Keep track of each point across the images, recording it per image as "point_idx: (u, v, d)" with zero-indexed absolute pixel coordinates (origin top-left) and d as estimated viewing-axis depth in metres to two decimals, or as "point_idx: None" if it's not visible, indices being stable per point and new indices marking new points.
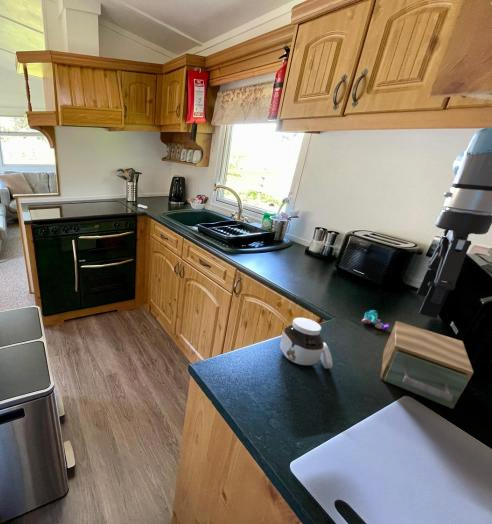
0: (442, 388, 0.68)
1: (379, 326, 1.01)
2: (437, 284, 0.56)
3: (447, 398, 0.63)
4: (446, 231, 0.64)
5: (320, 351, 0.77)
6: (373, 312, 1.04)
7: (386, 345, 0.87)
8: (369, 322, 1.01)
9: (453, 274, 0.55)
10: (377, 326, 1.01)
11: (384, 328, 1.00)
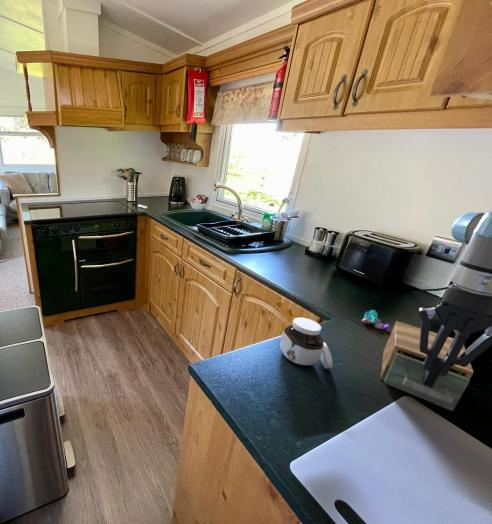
0: (442, 391, 0.67)
1: (379, 326, 1.01)
2: (464, 366, 0.60)
3: (448, 401, 0.62)
4: (425, 311, 0.62)
5: (320, 351, 0.77)
6: (373, 312, 1.04)
7: (386, 345, 0.87)
8: (369, 322, 1.01)
9: None
10: (377, 326, 1.01)
11: (384, 328, 1.00)
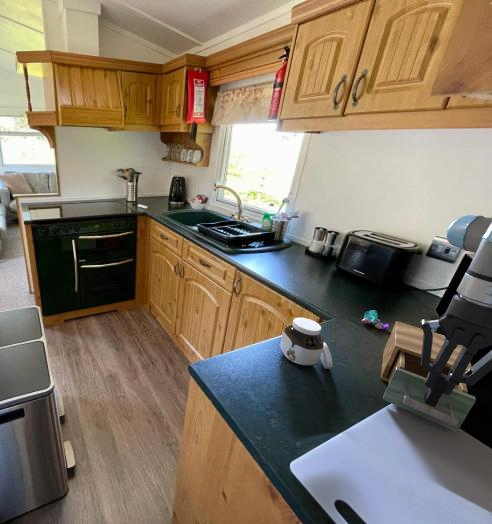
0: (446, 410, 0.61)
1: (379, 326, 1.01)
2: (470, 385, 0.55)
3: (452, 423, 0.56)
4: (428, 324, 0.57)
5: (320, 351, 0.77)
6: (373, 312, 1.04)
7: (386, 345, 0.87)
8: (369, 322, 1.01)
9: None
10: (377, 326, 1.01)
11: (384, 328, 1.00)
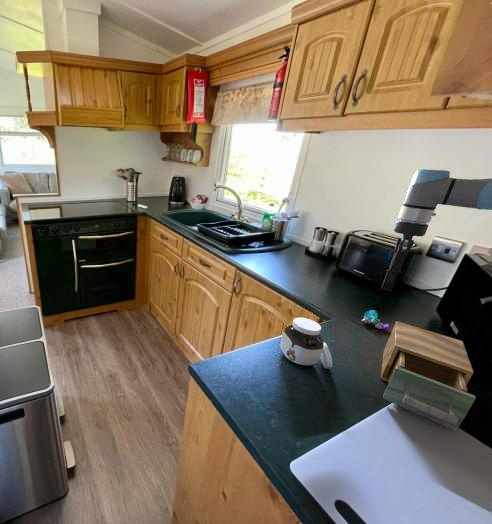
0: (446, 408, 0.62)
1: (379, 326, 1.01)
2: None
3: (452, 421, 0.57)
4: None
5: (320, 351, 0.77)
6: (373, 312, 1.05)
7: (386, 345, 0.87)
8: (369, 322, 1.01)
9: None
10: (377, 326, 1.01)
11: (384, 328, 1.00)
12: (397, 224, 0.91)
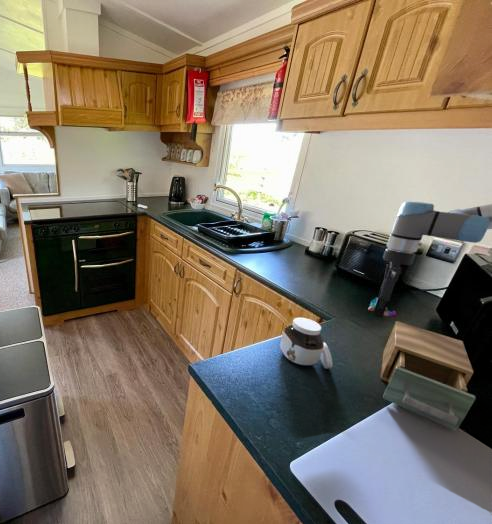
0: (446, 408, 0.62)
1: (386, 314, 0.98)
2: None
3: (452, 421, 0.57)
4: None
5: (320, 351, 0.77)
6: None
7: (386, 345, 0.87)
8: None
9: None
10: (384, 314, 0.98)
11: (391, 315, 0.98)
12: (386, 252, 0.95)
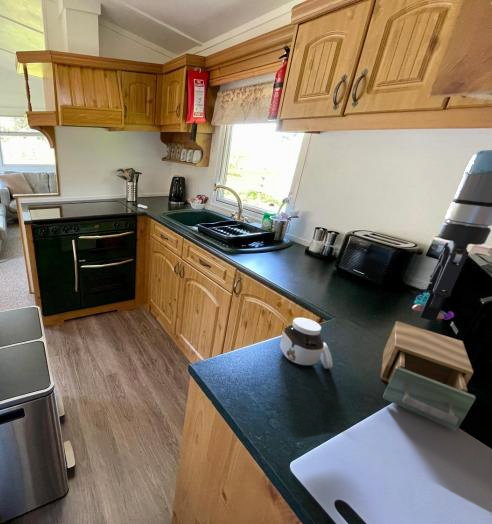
0: (446, 408, 0.62)
1: (440, 315, 0.69)
2: None
3: (452, 421, 0.57)
4: None
5: (320, 351, 0.77)
6: (428, 296, 0.73)
7: (386, 345, 0.87)
8: None
9: None
10: None
11: (448, 318, 0.69)
12: (444, 227, 0.66)
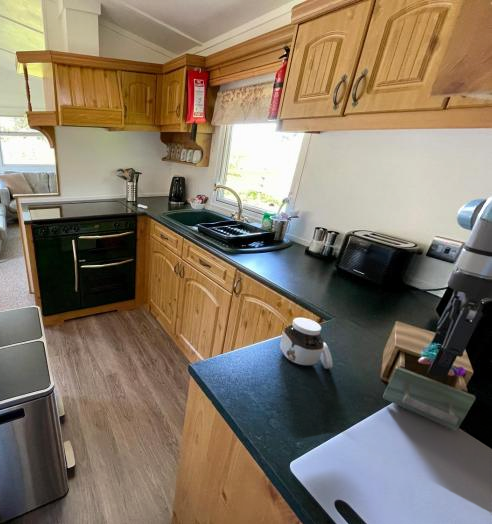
0: (446, 408, 0.62)
1: (450, 372, 0.62)
2: None
3: (452, 421, 0.57)
4: None
5: (320, 351, 0.77)
6: None
7: (386, 345, 0.87)
8: None
9: None
10: None
11: (458, 375, 0.62)
12: (455, 277, 0.59)
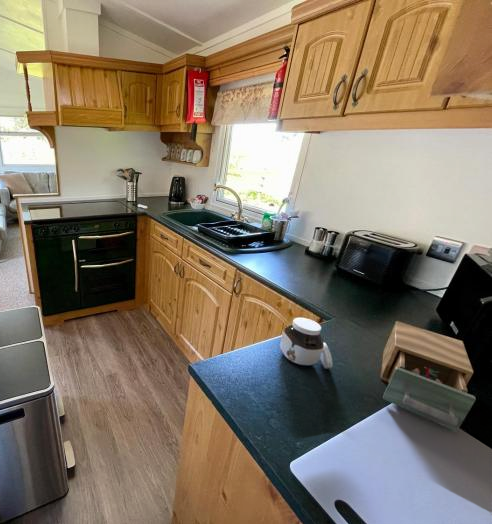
0: (446, 409, 0.62)
1: None
2: None
3: (452, 422, 0.57)
4: None
5: (320, 351, 0.77)
6: None
7: (386, 345, 0.87)
8: None
9: None
10: (439, 381, 0.67)
11: None
12: None
